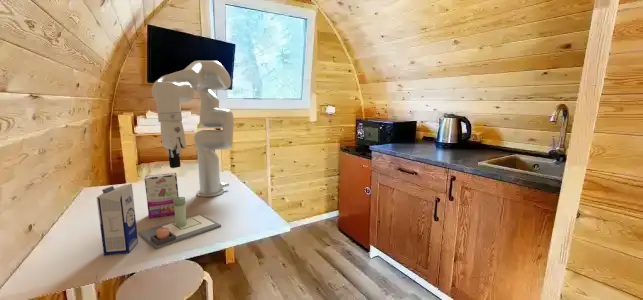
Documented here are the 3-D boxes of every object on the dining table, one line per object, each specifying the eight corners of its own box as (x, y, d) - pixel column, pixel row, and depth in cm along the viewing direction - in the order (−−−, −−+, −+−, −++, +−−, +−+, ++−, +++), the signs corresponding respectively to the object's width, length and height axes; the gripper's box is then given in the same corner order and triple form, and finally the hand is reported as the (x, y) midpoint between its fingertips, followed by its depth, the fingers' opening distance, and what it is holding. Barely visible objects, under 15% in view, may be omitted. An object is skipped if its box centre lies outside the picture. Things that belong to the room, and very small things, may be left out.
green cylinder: (184, 222, 108) (182, 196, 106) (188, 224, 105) (187, 198, 104) (173, 225, 105) (171, 198, 103) (178, 228, 102) (176, 201, 101)
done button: (167, 235, 97) (166, 226, 96) (171, 238, 95) (170, 229, 94) (155, 238, 94) (154, 230, 94) (159, 242, 92) (158, 233, 91)
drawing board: (200, 215, 116) (200, 210, 116) (221, 226, 106) (220, 221, 106) (138, 233, 100) (138, 228, 100) (156, 248, 90) (155, 243, 89)
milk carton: (129, 253, 87) (121, 189, 84) (103, 255, 86) (95, 190, 82) (138, 242, 94) (132, 182, 91) (115, 244, 93) (107, 183, 89)
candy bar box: (179, 209, 122) (176, 172, 120) (180, 213, 118) (177, 174, 115) (149, 214, 117) (145, 175, 115) (148, 218, 113) (144, 178, 110)
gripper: (190, 118, 101) (194, 168, 105) (172, 115, 111) (177, 161, 115) (167, 119, 96) (173, 173, 99) (150, 116, 105) (156, 165, 109)
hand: (175, 167), depth 107 cm, fingers closed
